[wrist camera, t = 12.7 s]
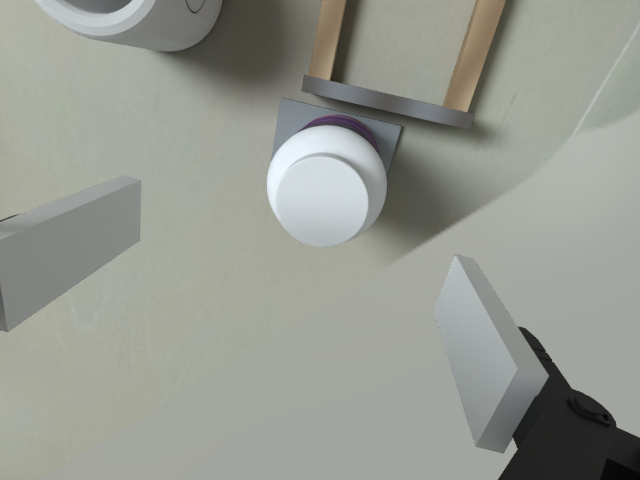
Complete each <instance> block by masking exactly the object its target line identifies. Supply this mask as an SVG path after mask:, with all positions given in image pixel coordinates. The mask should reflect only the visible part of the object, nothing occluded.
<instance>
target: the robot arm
mask: <svg viewBox="0 0 640 480" xmlns="http://www.w3.org/2000/svg"><path fill="white" fill-rule="evenodd" d="M140 205H141V180H139V179H135V178H131V177H126V176H121V177H118V178H115V179H113V180H110V181H108V182H105V183H102V184H100V185H97V186H94V187H92V188H89V189H86V190H84V191H81V192H78V193H76V194H73V195H70V196H68V197H65V198H62V199H60V200H57V201H54V202H52V203H49V204H46V205H44V206H41V207H38V208H36V209H33V210H30V211H28V212H25V213H22V214H19V215H14V216H11V217H8V218H6V219H3V220H0V330H1V331H5V332H9V331H10V330H11V329H13V328H14V327H16V326H17V325H19V324H20V323H22V322H23V321H24V320H26V319H27V318H29V317H30V316H32V315H33V314H35V313H36V312H37V311H39V310H40V309H42V308H43V307H45V306H46V305H47V304H49V303H50V302H52V301H53V300H55V299H56V298H58V297H59V296H60V295H62V294H63V293H65V292H66V291H68V290H69V289H71V288H72V287H73V286H75V285H76V284H78V283H79V282H81V281H82V280H84V279H85V278H86V277H88V276H89V275H91V274H92V273H94V272H95V271H96V270H98V269H99V268H101V267H102V266H104V265H105V264H107V263H108V262H109V261H111V260H112V259H114V258H115V257H117V256H118V255H120V254H121V253H122V252H124V251H125V250H127V249H128V248H130V247H131V246H132V245H134V244H135V243H137V242H138V241H140ZM433 312H434V315H435V318H436V321H437V324H438V328H439V331H440V334H441V338H442V341H443V344H444V347H445V350H446V353H447V356H448V360H449V363H450V366H451V370H452V373H453V376H454V379H455V382H456V385H457V389H458V392H459V395H460V398H461V402H462V405H463V408H464V411H465V415H466V418H467V421H468V424H469V427H470V430H471V433H472V437H473V440H474V443H475V446H476V447H480V448H484V449H488V450H491V451H496V452H500V453H504V452H505V450H506V448H507V446H508V445H509V443H510V441H511V440H512V438H514V441H515V443H516V445H517V448H518V450H517V451H516V453H515V454H514V456H513V458H512V459H511V461H510V462H509V464H508V465H507V467H506V468H505V470H504V471H503V473H502V474H501V476H500V477H499V479H498V480H640V438H639V437H637V436H635V435H632V434H630V433H628V432H626V431H623V430H621V429H619V428H617V427H616V421H615V420H614V419H613V417H612V415H611V414H610V413H609V412H608V411H607V410H606V409H605V408H604V407H603V406H602V405H601V404H600V403H598V402H597V401H595V400H594V399H593V398H591V397H589V396H587V395H585V394H583V393H582V392H579V391H576V390H573V389H572V388H571V387H570V385H569V384H568V382H567V381H566V379H565V378H564V377H563V375H562V374H561V372H560V371H559V369H558V368H557V367H556V365H555V364H554V362H552V359H551V358H550V356H549V355H548V353H545V349H544V348H543V346H542V345H541V343H540V342H539V340H538V339H537V338H536V337H534V336H533V335H532V334H531V333H530V332H529V331H528V330H527V329H525V328H522V327H518V326H517V325H516V324H515V322H514V321H513V319H512V317H511V316H510V314H509V313H508V311H507V310H506V308H505V306H504V305H503V303H502V302H501V301H500V299H499V297H498V296H497V294H496V292H495V291H494V289H493V288H492V286H491V285H490V283H489V282H488V280H487V278H486V277H485V276H484V274H483V272H482V271H481V269H480V267H479V266H478V264H477V263H476V261H475V260H474V259H473V258H468V257H464V256H460V255H455V256H454V259H453V261H452V264H451V267H450V269H449V272H448V274H447V277H446V279H445V282H444V285H443V287H442V289H441V292H440V294H439V297H438V300H437V302H436V304H435V308H434V310H433Z"/></svg>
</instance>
